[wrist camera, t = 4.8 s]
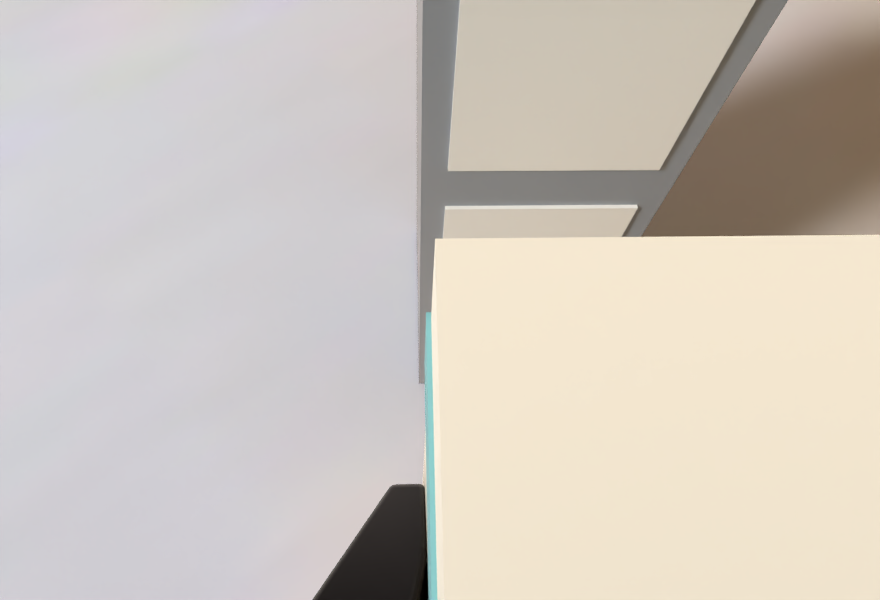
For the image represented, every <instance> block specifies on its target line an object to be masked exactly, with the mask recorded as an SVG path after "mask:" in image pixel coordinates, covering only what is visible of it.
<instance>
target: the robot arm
mask: <svg viewBox="0 0 880 600" xmlns="http://www.w3.org/2000/svg"><path fill="white" fill-rule="evenodd" d="M313 600H428V593H427V532H426V507H425V487H424V486H423V485H422V484H396V485H392V486H391V487H390V488H389V489H388V490H387V492H386V493H385V495H384V496H383V498H382V499H381V501H380V502H379V504H378V505H377V507H376V508H375V509H374V511H373V512H372V514H371V515H370V517H369V518H368V520H367V521H366V523H365V524H364V525H363V527H362V528H361V530H360V531H359V533H358V534H357V536H356V537H355V539H354V540H353V541H352V543H351V544H350V546H349V547H348V549H347V550H346V552H345V553H344V555H343V556H342V558H341V559H340V560H339V562H338V563H337V565H336V566H335V568H334V569H333V571H332V572H331V574H330V575H329V576H328V578H327V579H326V581H325V582H324V584H323V585H322V587H321V588H320V590H319V591H318V593H317V594H316V595H315V597H314V598H313Z"/></svg>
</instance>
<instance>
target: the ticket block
mask: <svg viewBox="0 0 880 600" xmlns="http://www.w3.org/2000/svg"><path fill="white" fill-rule="evenodd" d="M787 1H788V0H417V276H418V346H419V383H425V367H424V361H425V330H426V312H431V310H432V290H433V271H434V251H435V239H446V238H564V237H641V236H642V234H643V233H644V231H645V229H646V228H647V226H648V224H649V223H650V221H651V220H652V218H653V216H654V215H655V213H656V212H657V210H658V208H659V207H660V205H661V204H662V202H663V200H664V199H665V197H666V196H667V194H668V192H669V191H670V189H671V188H672V186H673V184H674V183H675V181H676V179H677V178H678V176H679V175H680V173H681V171H682V170H683V168H684V167H685V165H686V163H687V162H688V160H689V159H690V157H691V155H692V154H693V152H694V151H695V149H696V147H697V146H698V144H699V142H700V141H701V139H702V138H703V136H704V134H705V133H706V131H707V130H708V128H709V126H710V125H711V123H712V122H713V120H714V118H715V117H716V115H717V114H718V112H719V110H720V109H721V107H722V106H723V104H724V102H725V101H726V99H727V97H728V96H729V94H730V93H731V91H732V89H733V88H734V86H735V85H736V83H737V81H738V80H739V78H740V77H741V75H742V73H743V72H744V70H745V69H746V67H747V65H748V64H749V62H750V61H751V59H752V57H753V56H754V54H755V52H756V51H757V49H758V48H759V46H760V44H761V43H762V41H763V40H764V38H765V36H766V35H767V33H768V32H769V30H770V28H771V27H772V25H773V24H774V22H775V20H776V19H777V17H778V16H779V14H780V12H781V11H782V9H783V7H784V6H785V4H786V3H787Z"/></svg>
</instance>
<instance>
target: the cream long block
mask: <svg viewBox="0 0 880 600" xmlns="http://www.w3.org/2000/svg"><path fill="white" fill-rule="evenodd" d="M424 367H425V424H426V429H425V448H424V468H423V486H424V487H425V507H426V532H427V593H428V600H880V235H799V236H682V237H564V238H446V239H435V251H434V271H433V290H432V310H431V312H426V330H425V361H424Z"/></svg>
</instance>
